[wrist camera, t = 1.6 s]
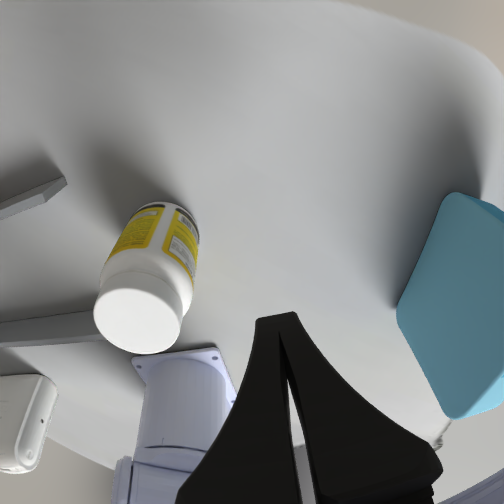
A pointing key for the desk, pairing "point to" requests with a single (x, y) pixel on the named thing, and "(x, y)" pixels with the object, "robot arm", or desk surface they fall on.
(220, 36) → the desk surface
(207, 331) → the desk surface
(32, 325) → the bay
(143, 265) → the supplement bottle
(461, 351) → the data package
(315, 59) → the desk surface
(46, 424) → the photo printer
